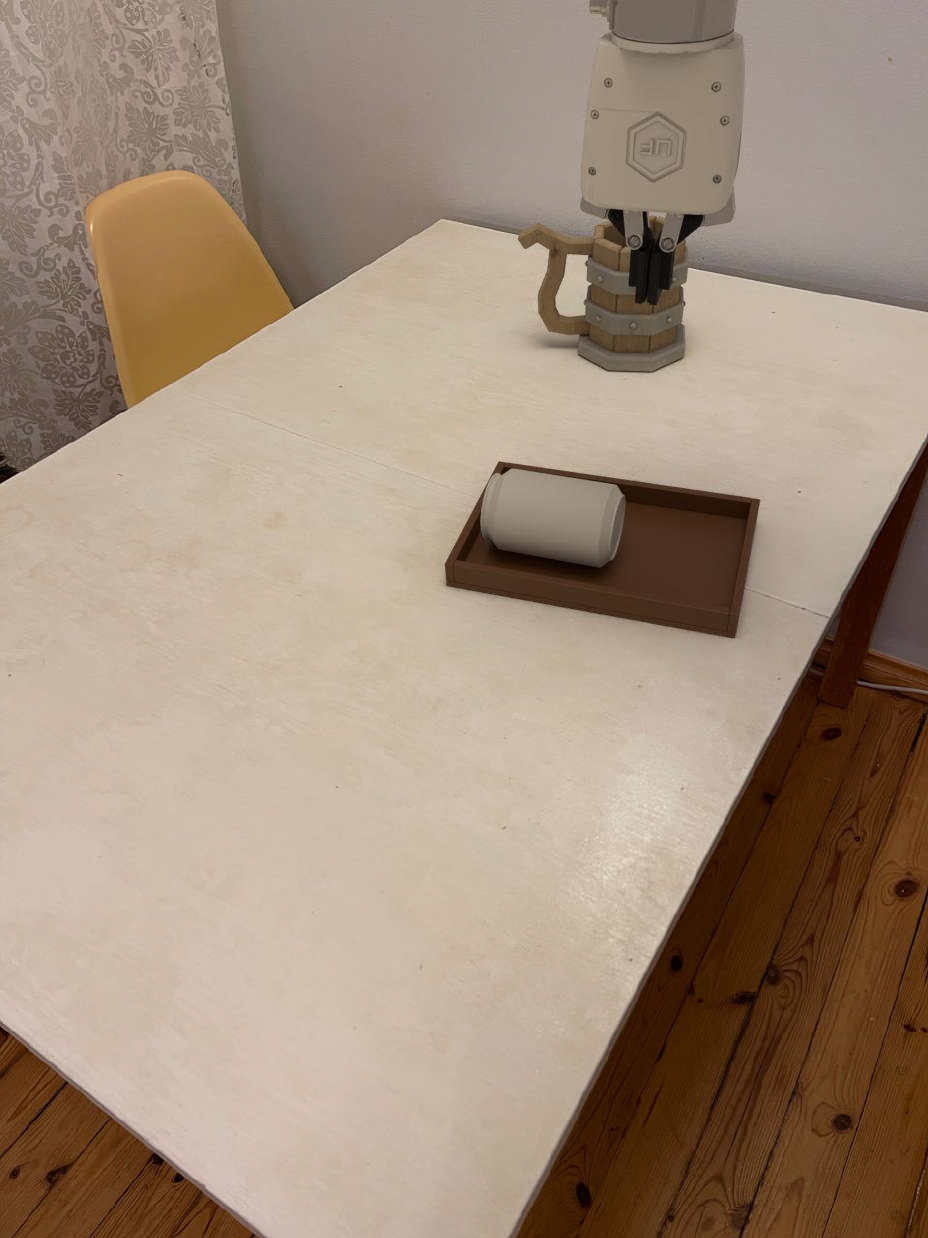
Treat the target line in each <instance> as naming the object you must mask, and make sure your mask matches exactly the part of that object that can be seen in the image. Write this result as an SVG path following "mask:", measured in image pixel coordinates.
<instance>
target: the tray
mask: <svg viewBox="0 0 928 1238" xmlns="http://www.w3.org/2000/svg"><path fill="white" fill-rule="evenodd" d="M512 468H513V469H520V470H526V471H532V472H539V473H545V474H551V475H558V476H564V477H570V478H576V479H583V480H589V481H595V482H602V483H608V484H614V485H617V486H618V488H619V490H620V491H621V493H622V494H623V495H624V496H625V515H624V522H623V528H622V533H621V537H620V542H619V545H618V549H617V552H616V555H615V557H614V559H613V560H612V561H609V562H608V563H606V564H605V565H604V566H602V567H600V568H598V567H593V566H587V565H582V564H576V563H571V562H565V561H560V560H555V559H549V558H544V557H538V556H533V555H527V554H522V553H516V552H511V551H505V550H500V549H498V548H497V546H496V545H495V544H494V542H493V541H492V540H491V539H490V540H485V539H484V538H483V536H482V533H481V522H480V521H481V509H482V503H483V498H484V494H485V490H486V488H487V485H488V482H489V481H490V479H491V477H492V476H493V475H494V474H495V473H500V474H501V475H503V474H504V473H506V472H507V471H509V470H510V469H512ZM760 505H761V499H760V498H754V497H750V496H743V495H736V494H735V495H734V494H727V493H721V492H714V491H707V490H702V489H701V490H700V489H693V488H686V487H682V486H681V487H679V486H672V485H666V484H659V483H652V482H645V481H640V480H639V481H637V480H631V479H626V478H618V477H611V476H603V475H597V474H590V473H584V472H575V471H571V470H570V471H569V470H563V469H556V468H548V467H542V466H534V465H528V464H527V465H526V464H521V463H513V462H508V461H501V460H498V461H497V463H496V465H495V467H494V469H493V471H492V473H491V475H490V476H489V479H488V481H487V483H486V484H485V486H484V488H483V490H482V492H481V494H480V496H479V498H478V500H477V502H476V503H475V505H474V507H473V509H472V511H471V513H470V515H469V516H468V518H467V521H466V522H465V525H463V528H462V531H461V532H460V533H459V536H458V538H457V540H456V542H454V545H453V547H452V549H451V551H450V553H449V555H448V556H447V559H446V560H445V562H444V572H445V585H446V586H448V587H453V588H459V589H464V590H470V591H475V592H480V593H486V594H490V595H491V594H492V595H495V596H502V597H508V598H512V599H519V600H524V601H530V602H535V603H540V604H546V605H551V606H552V605H553V606H557V607H562V608H567V609H573V610H580V611H584V612H589V613H595V614H599V615H601V614H602V615H606V616H611V617H617V618H623V619H629V620H634V621H638V622H645V623H649V624H656V625H662V626H666V627H672V628H677V629H683V630H688V631H694V632H699V633H705V634H710V635H715V636H721V637H727V638H732V639H735V638H736V636H737V631H738V626H739V620H740V617H741V616H740V615H741V611H742V605H743V599H744V593H745V587H746V582H747V576H748V571H749V566H750V560H751V556H752V555H751V554H752V549H753V544H754V538H755V533H756V527H757V521H758V515H759V509H760Z"/></svg>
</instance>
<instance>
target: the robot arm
mask: <svg viewBox="0 0 928 1238" xmlns="http://www.w3.org/2000/svg"><path fill="white" fill-rule="evenodd" d="M738 1H739V0H589V14H591V15H601V17H604V18H605V17H606V22H608V30H609V31H608V32H606V33H605V34H603V36H601V37H600V38H598V40H597V44H596V48H595V53H594V57H593V63H592V66H591V67H592V68H591V74H590V78H589V79H590V80H589V86H588V92H587V102H586V110H585V119H584V131H583V141H582V152H581V163H580V164H581V165H580V193H581V195H582V196H581V199H580V203H579V208H580V210H581V211H582V212H583V213H585V214H588V215H591V216H594V217H597V218H599V219H602V220H607V221H609V220H610V222H611V223H612V224H613V225H614V226H615V228H616V229H617V230H618V231H619V232H620V233H621V235H622V236H623V237H624V238H625V239H626V245H627V246H628V247H629V248H630V249H631V253H630V267H629V282H628V285H629V287H636V292H635V303H637V304H642V303H643V302H645V301H646V299H647V303H649V305H657V303H658V300H659V298H660V295H661V293H662V290H670V287H671V283H672V277H673V268H674V258H675V248H676V246H677V245H678V244H679V243H681V242H682V241H683V240H684V239H685V238H686V239H687V238H688V237H689V236H691V235H692V234H693V233H694V232H695V231H697V230H698V229H699V228H702V227H713V226H718V225H724V224H728V223H731V222H732V221H733V220H734V217H735V214H736V212H737V211H736V210H737V207H736V206H737V205H736V196H735V187H734V185H735V180H736V176H737V172H738V169H739V168H738V167H739V160H740V153H741V145H742V143H741V142H742V132H743V119H744V107H745V105H744V104H745V79H746V78H745V76H746V73H745V70H746V69H745V68H746V67H745V66H746V63H745V61H746V60H745V43H744V36H743V35H742V33H740V32H737V31H735V25H736V17H737V11H738V9H737V8H738ZM650 213H661V214H662V213H663V214H665V217H664V218H665V221H664V226H663V230H662V231H661V232H660V234H659V236H658V238H657V240H656V239H655V238H653V237H654V235H652V230H651V229H650V223H649V216H650ZM655 243H656V244H655Z"/></svg>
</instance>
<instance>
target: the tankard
mask: <svg viewBox="0 0 928 1238" xmlns="http://www.w3.org/2000/svg"><path fill="white" fill-rule="evenodd" d="M664 221H665V217H663V216H660V215H658V216H657V215H649V223H650V229H651V230H652V235H654V237H653V238H655V239H656V240H657V238H658V236H659V234H660V232H661V231H662V230H663V226H664ZM593 231H594V232H593V237H570V236H567V235H564V234H562V233H561V232H557V231H555V230H553V229H551V228H549V227H548V226H545V225H543V224H542V223H539V222H536V223H535V224H533V225H532V226H530V227H528V228H526V229H524V230H523V231H521V232H519V233H518V235H517V241H518V242H519V244H520V245H521V247H522V249H523V250H527V249H530V248H531V247H533V246H534V245H536V244H539V245H541V246H542V247H544V248H546V249H547V250H548V260H547V267H546V271H545V274H544V277H543V280H542V282H541V285H540V286H539V289H538V292H537V314H538V315H539V317H540V319H541V320H542V323H543V324H544V326H545V328H546V329H547V331H548V332H549V333H555V334H560V335H566V336H578V345H577V354H578V355H579V356H581V357H583V358H585V359H587V360H588V361H590V362H592V363H594V364H596V365H597V366H599V367H600V368H603V369H605V370H606V371H610V372H611V371H612V372H613V371H616V372H621V371H622V372H643V373H645V372H646V373H647V372H650V373H652V372H655V371H656V370H658V369H660V368H663V367H665V366H667V365H670V364H671V363H674V362H675V361H678V360H680V359H682V358H684V357H685V354H686V326H685V325H684V324H683V317H684V310H685V309H684V308H685V307H686V305H687V303H686V301H685V299H684V287H683V285H684V284H686V283H687V280H688V273H689V268H690V267H691V262H690V261H689V247H688V246H687V245H686V244H687V242H686V241H687V240H686V239H687V238H685V239H684V240H683V241H682V242H681V243H679V244H678V245H677V246H676V248H675V258H674V268H673V277H672V283H671V287H670V290H662V293H661V295H660V298H659V300H658V303H657V305H649V303H647V299H646V301H645V302H643V303H642V304H637V303H635V292H636V287H629V285H628V282H629V267H630V253H631V249H630V248H629V247H628V246H627V245H626V239H625V238H624V237H623V236H622V235H621V233H620V232H619V231H618V230H617V229H616V228H615V226H614V225H613V224H612V223H611V222H610V220H606V221H603V222H601V223H598V224H597V225H596V226H594V230H593ZM655 244H656V243H655ZM568 255H571V256H572V255H575V256H587V260H586V261H584V265H585V267H586V282H587V283H589V285H588V286H587V288H586V289H587V291H586V298H585V299H584V300H583V305H584V306H585V308H584V309H585V311H584V314H583V315H573V316H566V315H563V314H561V313H560V312H559V311H558V308H557V304H556V303H557V302H556V301H557V300H556V297H557V295H558V292H559V289H560V287H561V285H562V283H563V281H564V280H563V279H564V278H565V274H566V265H567V258H568Z"/></svg>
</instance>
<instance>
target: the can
mask: <svg viewBox="0 0 928 1238" xmlns="http://www.w3.org/2000/svg"><path fill="white" fill-rule="evenodd" d="M490 477H491V476H490ZM489 479H490V478H489ZM487 482H488V481H487ZM624 515H625V496H624V495H623V494H622V493H621V491H620V490H619V488H618V486H617V485H614V484H608V483H602V482H595V481H589V480H583V479H576V478H570V477H564V476H558V475H551V474H545V473H539V472H532V471H526V470H520V469H513V468H512V469H510V470H509V471H507V472H506V473H504V474H503V475H501V474H500V473H495V474H494V475H493V476H492V477H491V479H490V481H489V482H488V485H487V488H486V490H485V494H484V498H483V503H482V509H481V521H480V522H481V533H482V536H483V538H484V539H485V540H490V539H491V540H492V541H493V542H494V544H495V545H496V546H497V548H498V549H500V550H505V551H511V552H516V553H522V554H527V555H533V556H538V557H544V558H549V559H555V560H560V561H565V562H571V563H576V564H582V565H587V566H593V567H598V568H600V567H602V566H604V565H605V564H606V563H608V562H609V561H612V560H613V559H614V557H615V555H616V552H617V549H618V545H619V542H620V537H621V533H622V528H623V522H624Z"/></svg>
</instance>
